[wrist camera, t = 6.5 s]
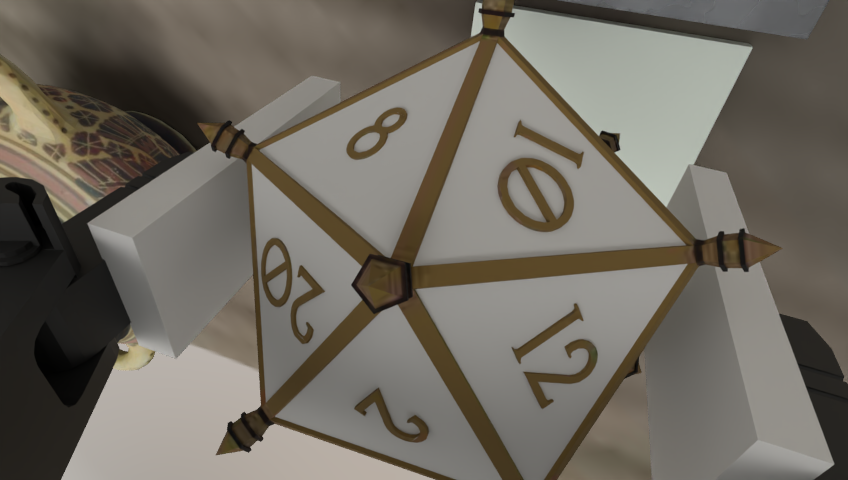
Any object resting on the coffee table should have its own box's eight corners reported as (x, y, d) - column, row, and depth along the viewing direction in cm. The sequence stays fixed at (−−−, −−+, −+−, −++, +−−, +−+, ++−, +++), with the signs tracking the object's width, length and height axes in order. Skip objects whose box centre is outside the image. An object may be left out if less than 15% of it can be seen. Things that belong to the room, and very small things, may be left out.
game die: (473, 153, 16) (205, 343, 13) (489, -159, 9) (-103, 100, 6) (715, 345, 12) (417, 679, 9) (1090, 68, 5) (281, 1206, 2)
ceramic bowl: (61, -38, 31) (-299, -1, 21) (263, 40, 25) (-98, 144, 15) (153, 245, 47) (-26, 346, 37) (289, 332, 41) (124, 481, 31)
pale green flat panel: (749, 43, 21) (752, 47, 20) (644, 252, 28) (645, 258, 28) (478, -1, 23) (475, 2, 22) (448, 205, 30) (446, 210, 30)
